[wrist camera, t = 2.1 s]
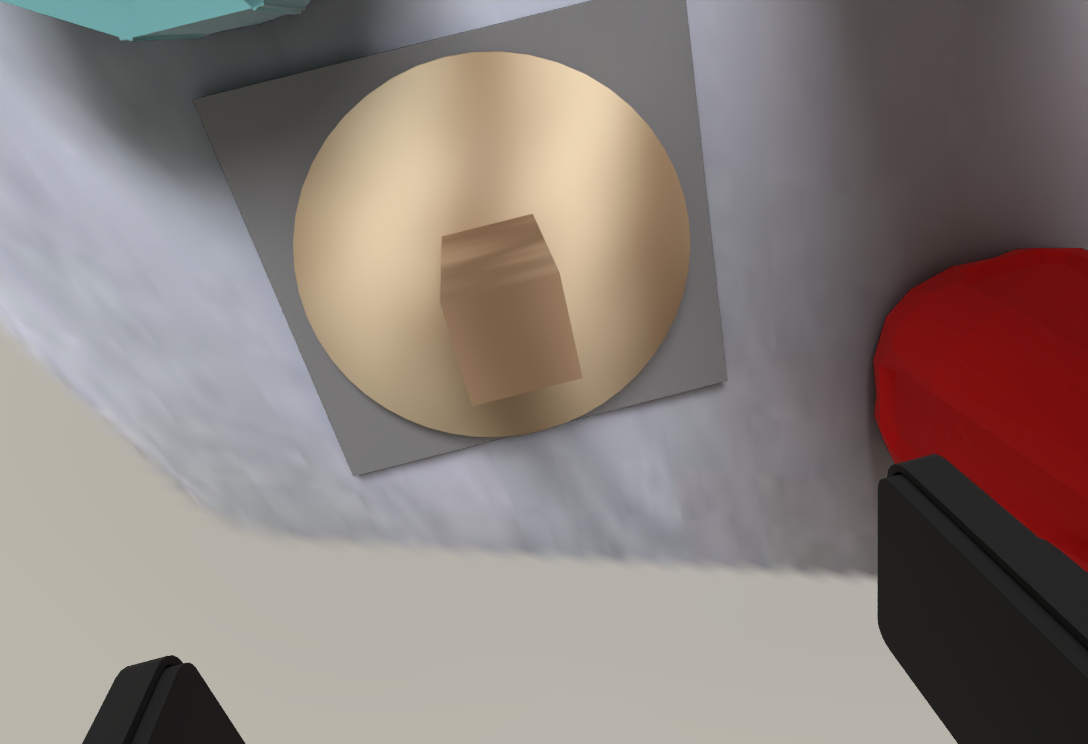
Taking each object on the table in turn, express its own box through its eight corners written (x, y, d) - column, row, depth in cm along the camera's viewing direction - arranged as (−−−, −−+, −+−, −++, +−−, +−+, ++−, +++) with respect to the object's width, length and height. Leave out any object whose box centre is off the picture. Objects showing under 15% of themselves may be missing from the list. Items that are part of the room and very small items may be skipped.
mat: (677, -21, 21) (683, -23, 21) (722, 374, 28) (727, 380, 27) (198, 97, 21) (192, 99, 21) (355, 467, 27) (353, 476, 27)
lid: (653, 4, 21) (740, -5, 15) (700, 375, 27) (776, 480, 21) (232, 109, 21) (140, 144, 15) (373, 459, 27) (351, 590, 21)
